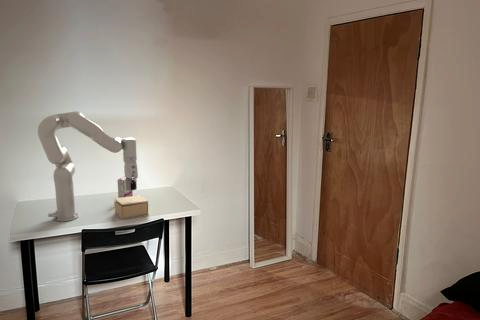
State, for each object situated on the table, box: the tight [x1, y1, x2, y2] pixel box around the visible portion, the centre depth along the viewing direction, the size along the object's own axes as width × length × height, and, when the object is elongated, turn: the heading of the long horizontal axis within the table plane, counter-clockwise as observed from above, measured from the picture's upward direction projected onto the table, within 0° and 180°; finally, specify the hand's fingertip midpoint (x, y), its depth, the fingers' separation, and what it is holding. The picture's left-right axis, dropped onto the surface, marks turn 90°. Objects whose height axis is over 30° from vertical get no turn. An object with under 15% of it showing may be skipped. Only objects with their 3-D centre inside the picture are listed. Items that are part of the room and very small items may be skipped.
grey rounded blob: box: [125, 178, 138, 192], centre depth 223 cm, size 6×6×6 cm
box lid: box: [114, 194, 149, 206], centre depth 225 cm, size 16×13×1 cm
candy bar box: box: [116, 175, 134, 198], centre depth 249 cm, size 11×5×16 cm, turn 168°
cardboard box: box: [114, 200, 149, 221], centre depth 226 cm, size 16×13×8 cm
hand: (131, 187), depth 224 cm, fingers closed on grey rounded blob, 6 cm apart
